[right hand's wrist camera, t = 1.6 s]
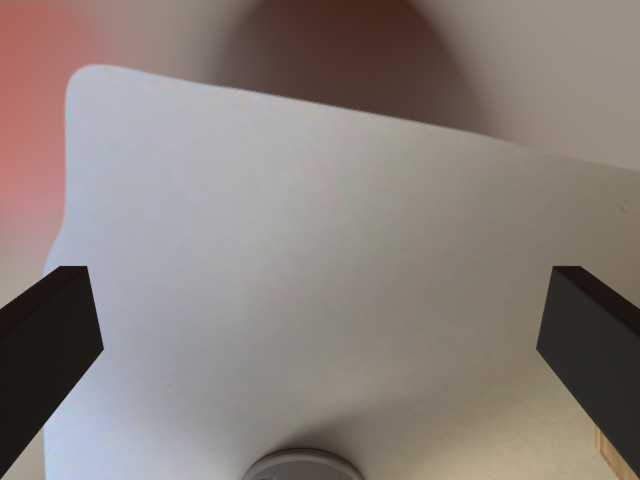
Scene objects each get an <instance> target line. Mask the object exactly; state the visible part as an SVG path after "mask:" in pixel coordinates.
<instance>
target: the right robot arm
mask: <svg viewBox="0 0 640 480" xmlns="http://www.w3.org/2000/svg"><path fill="white" fill-rule="evenodd" d="M103 350H104V347H103V342H102V337H101V332H100V327H99V322H98V317H97V313H96V308H95V303H94V298H93V293H92V288H91V283H90V278H89V273H88V268H87V266H59V267H58V268H56V269H55V270H54V271H52V272H51V273H50V274H48V275H47V276H45V277H44V278H43V279H41V280H40V281H39V282H37V283H36V284H34V285H33V286H32V287H30V288H29V289H28V290H26V291H25V292H23V293H22V294H21V295H19V296H18V297H17V298H15V299H14V300H12V301H11V302H10V303H8V304H7V305H5V306H4V307H3V308H1V309H0V479H1V478H2V477H3V476H4V474H5V473H6V472H7V471H8V469H9V468H10V467H11V466H12V464H13V463H14V462H15V460H16V459H17V458H18V457H19V456H20V454H21V453H22V452H23V450H24V449H25V448H26V447H27V445H28V444H29V443H30V442H31V440H32V439H33V438H34V437H35V435H36V434H37V433H38V432H39V430H40V429H41V428H42V427H43V425H44V424H45V423H46V422H47V420H48V419H49V418H50V416H51V415H52V414H53V413H54V411H55V410H56V409H57V408H58V406H59V405H60V404H61V403H62V401H63V400H64V399H65V398H66V396H67V395H68V394H69V393H70V391H71V390H72V389H73V388H74V386H75V385H76V384H77V382H78V381H79V380H80V379H81V377H82V376H83V375H84V374H85V372H86V371H87V370H88V369H89V367H90V366H91V365H92V364H93V362H94V361H95V360H96V359H97V357H98V356H99V355H100V354H101V352H102V351H103ZM536 350H537V351H538V352H539V354H540V355H541V356H542V357H543V359H544V360H545V361H546V362H547V364H548V365H549V366H550V367H551V369H552V370H553V371H554V372H555V374H556V375H557V376H558V377H559V379H560V380H561V381H562V382H563V384H564V385H565V386H566V388H567V389H568V390H569V391H570V393H571V394H572V395H573V396H574V398H575V399H576V400H577V401H578V403H579V404H580V405H581V406H582V408H583V409H584V410H585V411H586V413H587V414H588V415H589V416H590V418H591V419H592V420H593V422H594V423H595V424H596V425H597V427H598V428H599V429H600V430H601V432H602V433H603V434H604V435H605V437H606V438H607V439H608V440H609V442H610V443H611V444H612V445H613V447H614V448H615V449H616V450H617V452H618V453H619V454H620V456H621V457H622V458H623V459H624V461H625V462H626V463H627V464H628V466H629V467H630V468H631V469H632V471H633V472H634V473H635V474H636V476H637V477H638V478H639V479H640V309H639V308H637V307H636V306H635V305H633V304H632V303H630V302H629V301H628V300H626V299H625V298H624V297H622V296H621V295H619V294H618V293H617V292H615V291H614V290H612V289H611V288H610V287H608V286H607V285H606V284H604V283H603V282H601V281H600V280H599V279H597V278H596V277H595V276H593V275H592V274H590V273H589V272H588V271H586V270H585V269H584V268H582V267H581V266H553V268H552V273H551V278H550V283H549V288H548V293H547V298H546V303H545V308H544V313H543V317H542V322H541V327H540V332H539V337H538V342H537V347H536ZM242 480H363V479H362V477H361V476H360V474H359V473H358V472H357V470H356V469H355V468H354V467H353V466H351V465H350V464H349V463H348V462H346V461H345V460H343V459H341V458H339V457H337V456H335V455H333V454H330V453H327V452H324V451H319V450H313V449H290V450H285V451H280V452H277V453H274V454H271V455H269V456H267V457H265V458H263V459H261V460H260V461H258V462H257V463H255V464H254V465H253V466H252V467H251V468H250V469H249V470H248V471H247V473H246V474H245V476H244V477H243V479H242Z"/></svg>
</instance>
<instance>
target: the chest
mask: <svg viewBox="0 0 640 480" xmlns="http://www.w3.org/2000/svg"><path fill="white" fill-rule="evenodd" d="M596 449H597V450H598V451H599V453H600V454H601V456H602V457H603V458H604V460H605V461H606V462H607V464H608V465H609V467H610V468H611V469H612V471H613V472H614V473H615V475H616V476H617V477H618V479H619V480H640V479H639V478H638V477H637V476H636V474H635V473H634V472H633V471H632V469H631V468H630V467H629V466H628V464H627V463H626V462H625V461H624V459H623V458H622V457H621V456H620V454H619V453H618V452H617V450H616V449H615V448H614V447H613V445H612V444H611V443H610V442H609V440H608V439H607V438H606V437H605V435H604V434H603V433H602V432H601V430H600V429H599V428H598V427H597V425H596Z"/></svg>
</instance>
